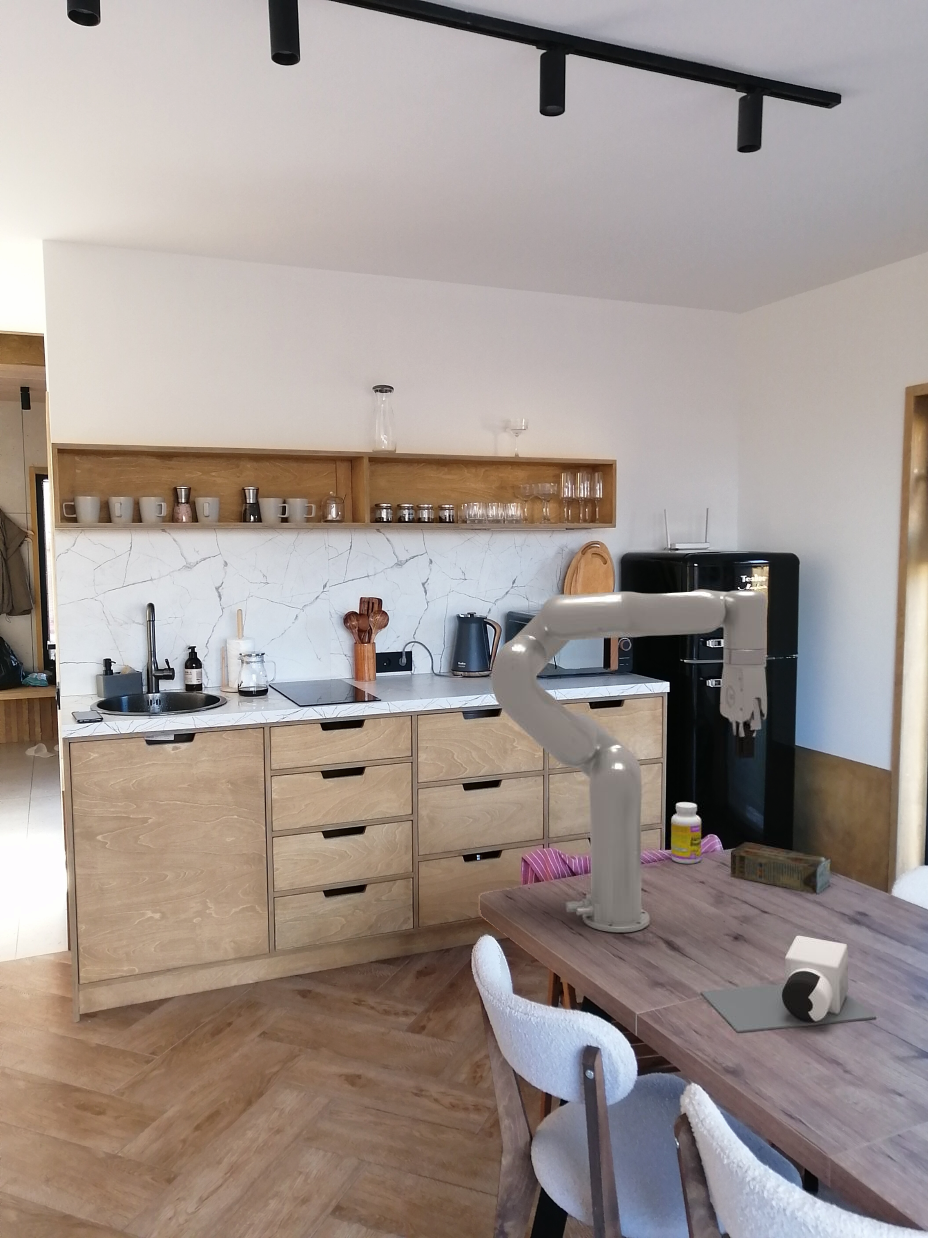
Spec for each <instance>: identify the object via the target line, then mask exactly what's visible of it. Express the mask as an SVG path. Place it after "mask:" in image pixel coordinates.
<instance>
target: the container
mask: <svg viewBox="0 0 928 1238" xmlns="http://www.w3.org/2000/svg"><path fill="white" fill-rule="evenodd" d="M848 953H849V952H848V945H847V944H846V943H842V942H835V941H830V940H825V939H820V938H814V937H809V936H802V935H797V936H795V937H794V940H793V942H792V944H791V945H790V947H789V949H788V951H787V953H786V954H785V955H786V956H785V957H784V962H785V963H784V965H785V966H784V967H785V983H784V984H785V986H784V988H783V991H782V1000H783V1003H784V1005H785V1007H786V1009H787V1010H788V1011H789V1012H790V1013H791V1014H792V1015H793V1016H794V1017H796V1018H798V1019H800V1020H802V1021H806V1022H815V1021H819V1020H821V1019H822V1018H823V1017H824V1016H825V1015H826V1013H827V1012H830V1013H835V1014H838V1013H839V1012H840V1009H841V1007H842V1004H843V1001H844V999H845V996H846V994H848V990H849V964H848V963H849V961H848V960H849V959H848V958H849V957H848Z"/></svg>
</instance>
